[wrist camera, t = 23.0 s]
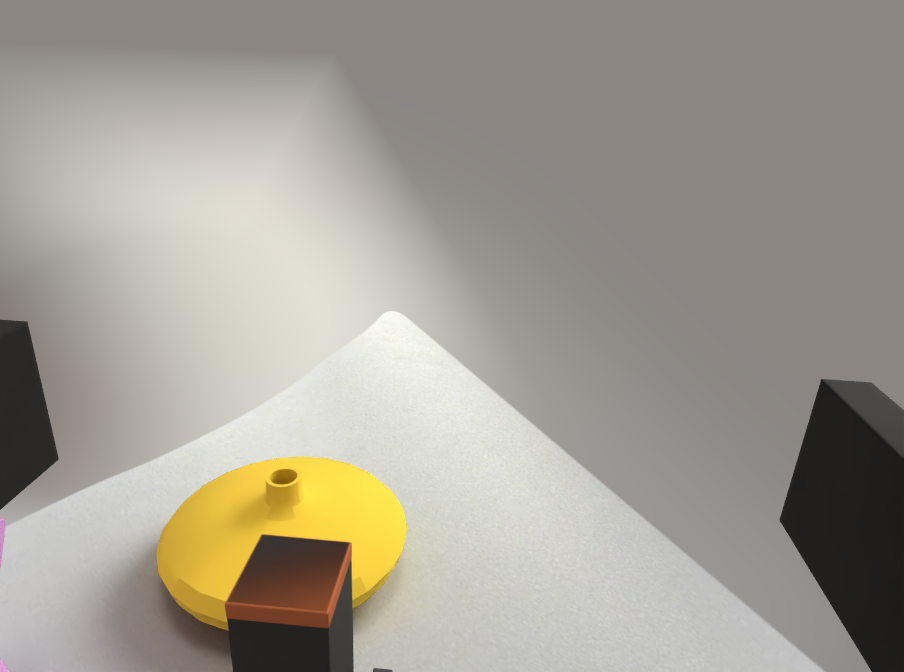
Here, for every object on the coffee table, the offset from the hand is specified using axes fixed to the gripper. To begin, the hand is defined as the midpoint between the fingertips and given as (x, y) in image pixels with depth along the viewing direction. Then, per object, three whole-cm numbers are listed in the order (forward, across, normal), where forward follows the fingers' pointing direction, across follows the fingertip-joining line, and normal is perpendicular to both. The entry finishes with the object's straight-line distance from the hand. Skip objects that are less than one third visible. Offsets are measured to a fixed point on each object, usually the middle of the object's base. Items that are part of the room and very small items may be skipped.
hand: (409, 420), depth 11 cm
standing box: (+10, -6, -25) cm, 27 cm away
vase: (+24, -11, -26) cm, 37 cm away
